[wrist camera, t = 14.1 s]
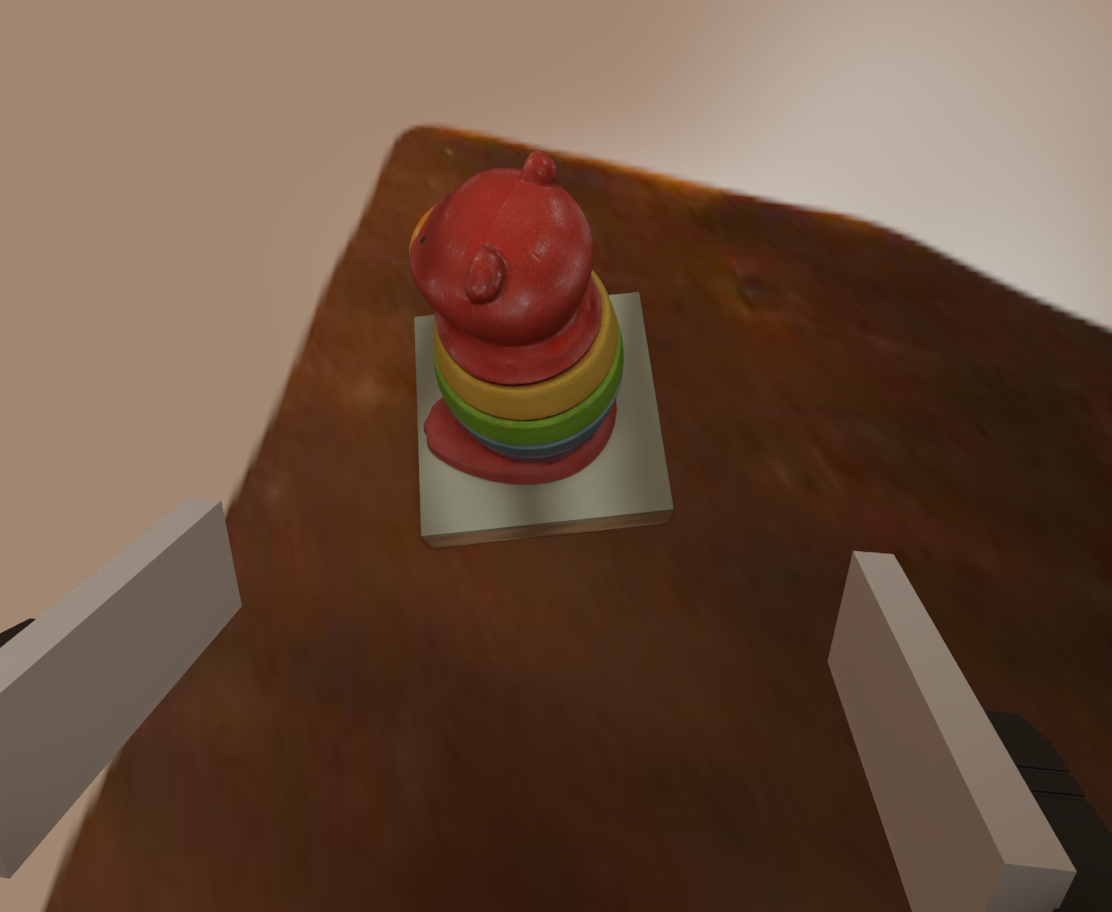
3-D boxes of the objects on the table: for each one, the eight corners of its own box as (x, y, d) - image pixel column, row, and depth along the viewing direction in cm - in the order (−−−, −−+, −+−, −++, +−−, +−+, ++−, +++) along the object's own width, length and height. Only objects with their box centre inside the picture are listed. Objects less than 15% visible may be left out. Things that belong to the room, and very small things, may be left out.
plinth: (636, 317, 47) (639, 291, 44) (668, 523, 42) (673, 509, 39) (425, 340, 47) (414, 317, 44) (432, 548, 42) (421, 536, 40)
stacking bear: (506, 303, 44) (452, 53, 28) (653, 370, 42) (690, 145, 26) (412, 446, 42) (288, 264, 25) (565, 527, 39) (542, 386, 23)
